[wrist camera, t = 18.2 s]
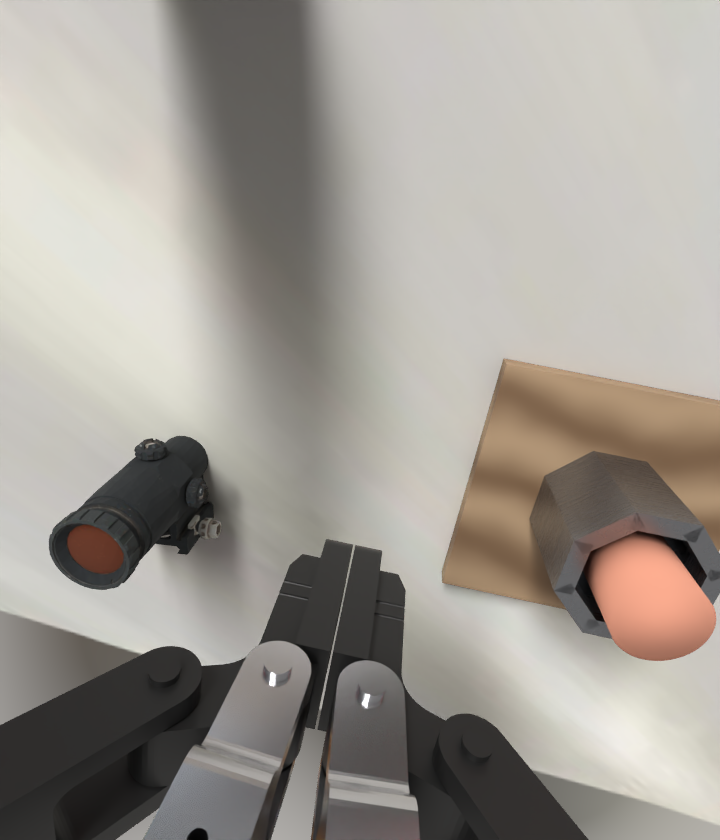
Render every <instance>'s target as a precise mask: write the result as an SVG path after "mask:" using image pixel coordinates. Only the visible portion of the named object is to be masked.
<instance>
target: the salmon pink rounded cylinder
mask: <svg viewBox="0 0 720 840" xmlns="http://www.w3.org/2000/svg"><path fill="white" fill-rule="evenodd" d="M583 572H584V575H585V577H586V579H587V582H588V584H589V586H590V588H591V591H592V593H593V595H594V597H595V600H596V602H597V604H598V607H599V609H600V611H601V613H602V616H603V618H604V620H605V623H606V625H607V627H608V629H609V632H610V634H611V636H612V638H613V640H614V642H615V643H616V644H617V646H618V647H620V648H621V649H622V650H623V651H625V652H626V653H628V654H630V655H632V656H634V657H637V658H640V659H645V660H652V661H664V660H671V659H676V658H679V657H683V656H685V655H687V654H690V653H691V652H693V651H695V650H697V649H698V648H699V647H701V646H702V645H703V644H704V643H705V642H706V641H707V640H708V639H709V637H710V636H711V634H712V633H713V630H714V628H715V625H716V613H715V609H714V607H713V605H712V603H711V602H710V600H709V599H708V598H707V596H706V595H705V594H704V592H703V591H702V589H701V588H700V587H699V585H698V584H697V583H696V581H695V580H694V579H693V577H692V576H691V574H690V573H689V572H688V570H687V569H686V568H685V566H684V565H683V563H682V562H681V561H680V559H679V558H678V557H677V555H676V554H675V553H674V551H673V550H672V548H671V547H670V546H669V544H668V543H667V542H666V540H665V539H664V537H663V536H661V535H656V534H651V533H646V532H641V531H636V532H633V533H631V534H629V535H627V536H624V537H622V538H620V539H618V540H615V541H613V542H611V543H609V544H606V545H604V546H602V547H600V548H597V549H595V550H593V551H591V552H590V554H589V556H588V559H587V561H586V564H585V566H584V568H583Z"/></svg>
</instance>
